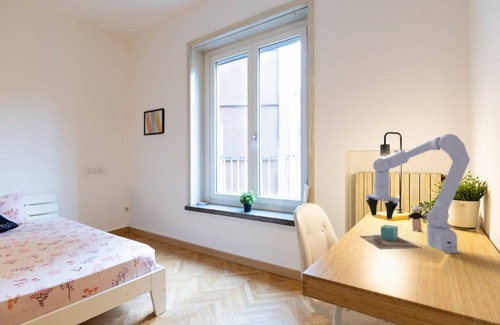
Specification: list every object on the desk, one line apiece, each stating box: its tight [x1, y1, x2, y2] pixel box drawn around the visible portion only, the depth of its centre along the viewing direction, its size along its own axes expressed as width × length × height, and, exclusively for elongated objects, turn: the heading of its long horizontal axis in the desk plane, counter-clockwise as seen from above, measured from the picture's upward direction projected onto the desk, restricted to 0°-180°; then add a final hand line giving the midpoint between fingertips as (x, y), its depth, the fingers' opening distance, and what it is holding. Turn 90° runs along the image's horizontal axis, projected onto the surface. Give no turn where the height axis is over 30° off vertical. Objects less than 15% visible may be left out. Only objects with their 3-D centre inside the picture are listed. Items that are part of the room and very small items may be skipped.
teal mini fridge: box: [380, 224, 399, 241], centre depth 112 cm, size 5×6×5 cm
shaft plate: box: [359, 234, 422, 250], centre depth 108 cm, size 18×16×4 cm
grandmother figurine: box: [406, 205, 427, 233], centre depth 127 cm, size 8×4×13 cm, turn 84°
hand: (381, 217), depth 115 cm, fingers open, 7 cm apart
